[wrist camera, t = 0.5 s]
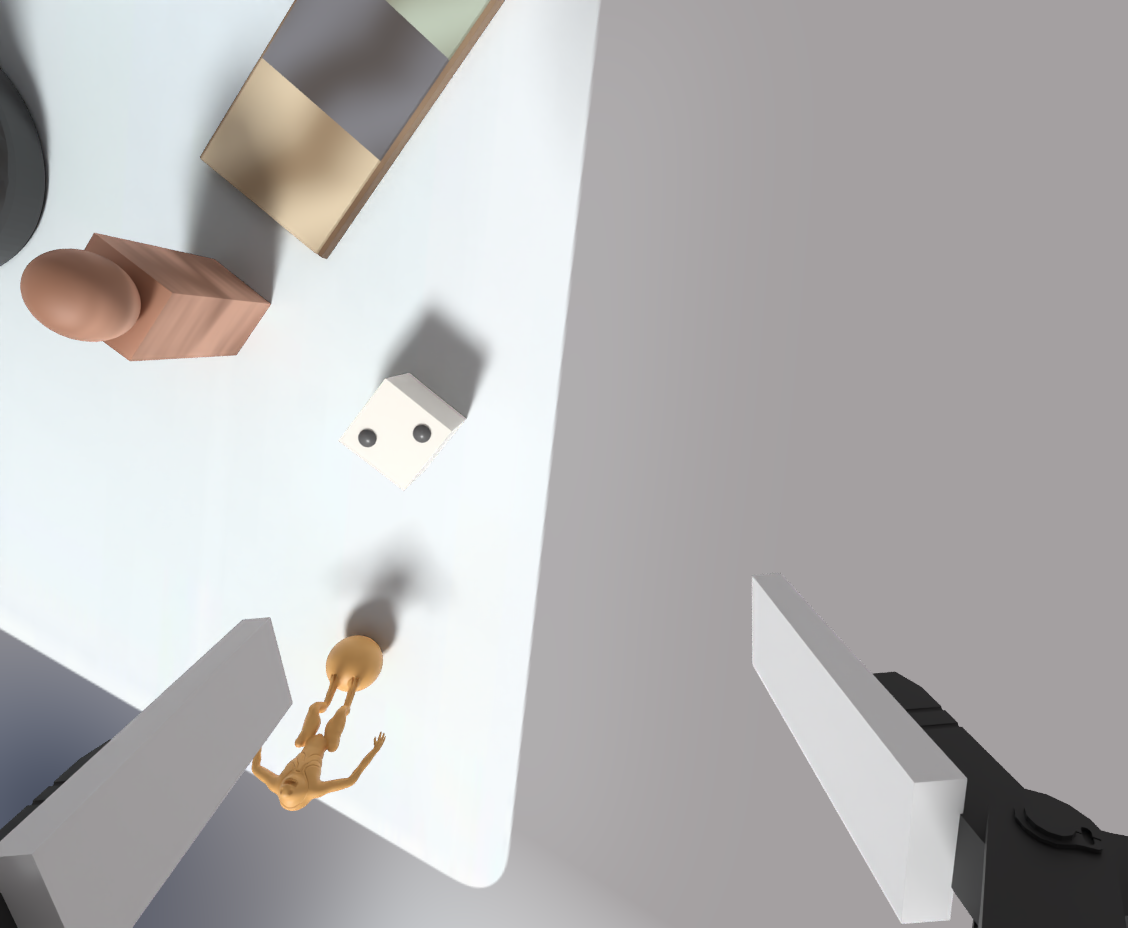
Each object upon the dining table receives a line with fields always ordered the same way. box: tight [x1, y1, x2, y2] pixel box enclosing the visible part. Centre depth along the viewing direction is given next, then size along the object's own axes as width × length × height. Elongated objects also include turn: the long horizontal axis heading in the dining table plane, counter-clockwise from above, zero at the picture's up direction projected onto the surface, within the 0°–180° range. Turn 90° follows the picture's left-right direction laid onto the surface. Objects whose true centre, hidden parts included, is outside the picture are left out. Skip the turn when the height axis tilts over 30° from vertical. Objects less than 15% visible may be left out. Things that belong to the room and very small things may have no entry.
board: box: [200, 0, 505, 259], centre depth 31 cm, size 9×21×1 cm, turn 140°
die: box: [338, 373, 466, 491], centre depth 35 cm, size 5×5×5 cm
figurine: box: [252, 635, 386, 811], centre depth 36 cm, size 8×6×12 cm
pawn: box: [20, 233, 271, 361], centre depth 29 cm, size 4×4×13 cm
